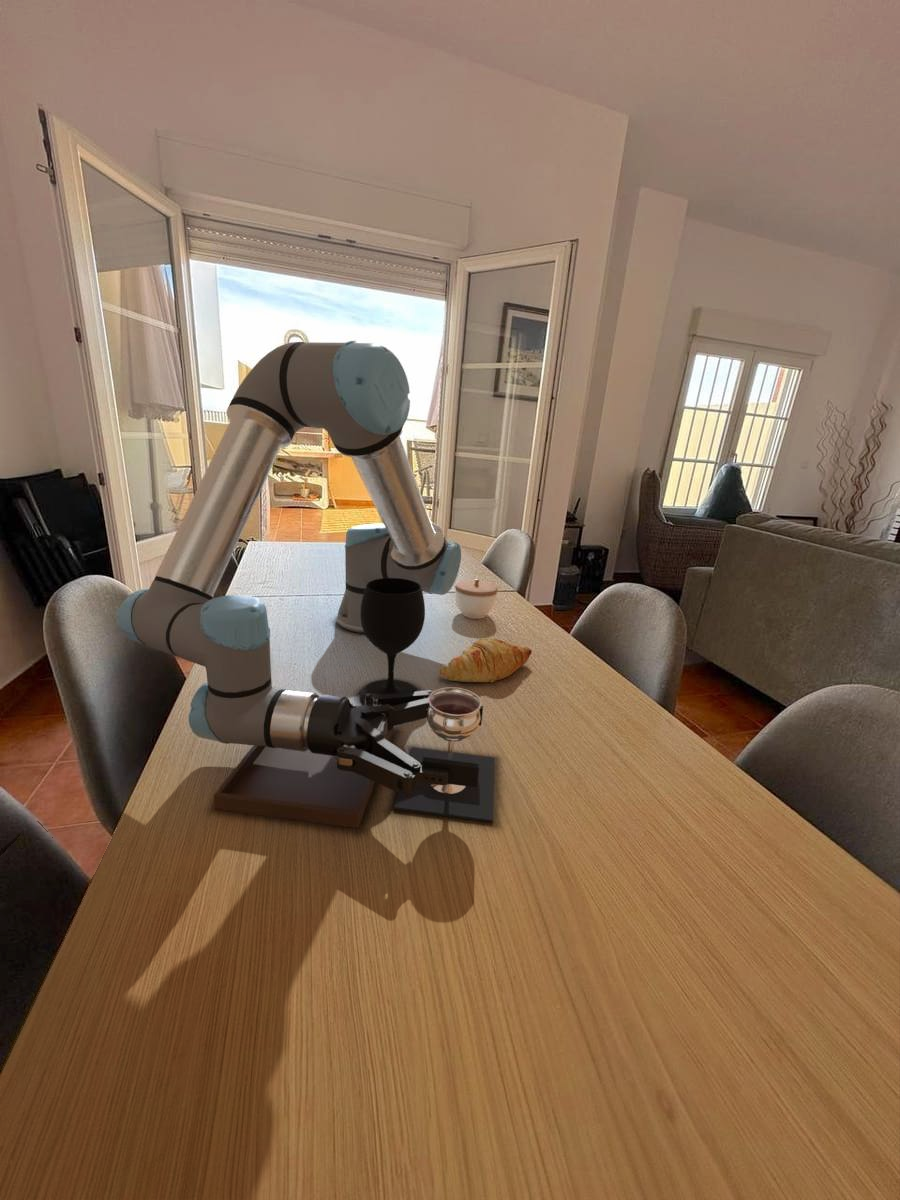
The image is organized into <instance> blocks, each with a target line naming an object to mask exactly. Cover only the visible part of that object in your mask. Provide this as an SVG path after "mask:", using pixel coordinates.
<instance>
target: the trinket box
mask: <svg viewBox="0 0 900 1200" xmlns="http://www.w3.org/2000/svg"><path fill="white" fill-rule="evenodd" d="M454 584H455V585H454V589H455V590H454V601H455V604H456V607H457V609H458V611H460V613H461V615H462V616H464V617H466V618H468V619H483V618H485V617H486V616H487V615H488V614H490V613H491V611H492V610H493V608H494V606H495V604H496V600H497V593H498V589H499V588H498V586H497V585H496V584H494V583H492V582H489V581H486V580H481V579H479V578H475V579H462V580H459V581H456V583H454Z"/></svg>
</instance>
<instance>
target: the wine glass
mask: <svg viewBox="0 0 900 1200" xmlns="http://www.w3.org/2000/svg"><path fill="white" fill-rule="evenodd" d="M360 616H361V624H362V628H363V631H364V633H363V634H364V635H365V636H366V638H367V640H368V641H369V642H370V643H371V644H372V645H373V646H374V647H375V648H376V649H378V650H379V651H380V652H383V654H385V655H386V658H387V679H379V680H374V681H371V682H370V683H368V684H366V685H365V686H363V688H362V689H361V690H360V693H359V700H360V702H361V703H362V704H363V705H364V704H365V695H366V694H368V693H372V694H392V693H403V692H414V691H420V690H419V689H418V687H416V686H415V685H414V684H412V683H410V682H408V681H405V680H400V679H394V678H395V663H396V658H397V655H398V654H400V653H401V652H404V651H405V650H406V649H408V648H410V646H412V645H413V644H414V643H415V641H416V640H417V639H418V638H419V636H420V635H421V632H422V630H423V627H424V624H425V619H426V605H425V598H424V592H423V591H422V589H421V586H420V585H419V584H418V583H416V582H414V581H411V580H407V579H400V578H382V579H376V580H372V581H370V582H368V583H367V585H366V588H365V591H364V594H363V598H362V603H361V611H360Z"/></svg>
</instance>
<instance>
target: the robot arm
mask: <svg viewBox="0 0 900 1200" xmlns="http://www.w3.org/2000/svg"><path fill="white" fill-rule="evenodd" d="M410 393H411V391H410V384H409V380H408V376H407V374H406V371H405V368H404V367H403V364H402V363H401V361H400V360H399V358H398V357H397V356H396V355H395V354H394V352H393V351H391V350H390V349H389V348H388V347H386V346H383V345H381V344H379V343H373V342H366V341H361V340H349V341H346V342H312V341H311V342H309V341H308V342H305V341H293V342H286V343H284V344H282V345H279V346H277V347H275V348H274V349H272V350H271V351H269V352H268V353H266V354H265V355H264V356H263V357H262V358H260V359H259V361H258V362H257V363H256V364H255V365H254V366H253V367H252V369H251V370H250V371H249V372H248V374H247V375H245V377H244V378H243V380H242V381H241V383H240V385H238V387H237V389H236V391H235V393H234V395H233V397H232V399H231V401H230V403H229V405H228V407H227V409H226V416H227V418H228V420H229V422H228V425H227V426H226V429H225V431H224V433H223V435H222V437H221V439H220V441H219V443H218V445H217V447H216V449H215V452H214V453H213V455H212V458H211V460H210V462H209V464H208V466H207V468H206V470H205V472H204V474H203V477H202V479H201V481H200V483H199V484H198V487H197V489H196V491H195V493H194V495H193V497H192V500H191V501H190V504H189V506H188V507H187V509H186V512H185V514H184V516H183V517H182V521H181V522H180V524H179V526H178V528H177V530H176V532H175V535H174V536H173V538H172V541H171V542H170V545H169V547H168V549H167V551H166V553H165V556H164V557H163V559H162V561H161V563H160V565H159V567H158V570H157V572H156V574H155V576H154V579H153V580H152V582H151V584H150V586H149V588H144V589H142V588H141V589H138V590H136V591H133V592H132V593H131V594H130V595H129V596H128V597H127V598H125V599H124V600H123V601H122V603H121V604H120V606H119V608H118V612H117V623H118V626H119V629H120V631H121V632H122V634H123V635H124V636H125V637H127V638H128V639H130V640H131V641H134V642H135V643H138V644H140V645H142V646H144V647H145V648H146V649H150V650H153V651H154V650H155V651H159V652H162V653H165V654H169V655H171V656H175V657H176V658H177V657H178V658H180V659H183V660H185V661H188V662H190V663H194V664H196V665H198V666H201V667H204V668H205V672H206V673H205V674H206V681H207V682H205V683H203V684H202V685H201V686H199V687H198V689H197V690H196V692H195V693H194V695H193V696H192V699H191V701H190V705H189V706H190V711H189V713H188V724H189V728H190V730H191V732H192V733H193V734H194V735H195V736H196V737H199V738H200V739H206V740H210V741H215V742H220V743H222V744H226V745H228V744H234V745H247V746H254V745H257V746H268V747H270V748H281V749H288V750H295V751H302V752H306V751H307V750H310V751H311V752H312V753H315V754H323V755H330V756H337V768H338V769H339V770H344V771H350V772H355V773H357V774H359V775H361V776H363V777H366V778H368V779H370V780H372V781H374V782H375V784H379V785H380V786H383V787H385V788H387V789H389V790H391V791H393V792H395V793H397V794H398V793H400V794H402V795H405V796H408V795H410V794H411V791H416V790H418V789H419V787H420V783H428V784H436V785H437V784H438V785H447V784H453V785H461V786H468V787H476V788H477V782H478V773H479V764H476V763H468V762H460V761H452V760H444V759H436V758H428V757H423V760H422V765H421V763H420V762H418V761H417V760H415V759H414V758H413V757H411V756H410V755H409V753H406V752H405V751H404V750H402V749H401V748H400V747H398V746H397V745H395V744H394V743H392V742H391V741H390V742H389V741H388V740H386V739H385V738H384V736H385V735H386V733H387V731H390V730H392V729H393V730H394V728H395V727H397V726H401V725H404V724H409V723H411V722H416V721H420V720H424V719H427V710H428V707H429V705H430V704H429V702H428V698H429V696H430V694H431V693H432V692H434V690H431V689H428V690H427V689H425V690H419V691H414V692H403V693H392V694H372V693H368V694H366V695H365V704H363V705H353V704H352V703H351V701H350V699H349V698H348V697H347V696H342V695H335V694H334V695H333V694H325V693H323V694H321V695H319V694H318V693H317V692H313V691H312V692H310V691H303V690H302V691H300V690H291V689H282V688H277V687H273V683H272V663H271V661H272V659H271V628H270V626H269V618H268V611H267V607H266V605H265V603H264V602H263V600H261V599H260V598H258V597H255V596H252V595H238V594H228V595H222V596H217V597H214V595H215V592H216V591H217V589H218V587H219V585H220V582H221V580H222V578H223V576H224V574H225V571H226V569H227V567H228V564H229V562H230V560H231V558H232V556H233V554H234V552H235V549H236V546H237V545H238V542H239V541H240V538H241V536H242V534H243V531H244V529H245V527H246V525H247V523H248V521H249V518H250V516H251V514H252V511H253V509H254V507H255V505H256V503H257V500H258V499H259V497H260V494H261V492H262V489H263V487H264V485H265V483H266V480H267V478H268V477H269V474H270V472H271V470H272V468H273V465H274V462H275V461H276V458H277V456H278V454H279V453H280V450H281V449H284V448H288V447H289V446H290V445H291V443H292V441H293V438H294V436H295V434H296V433H297V432H299V431H300V430H302V429H303V428H312V429H313V428H314V429H324V430H325V431H326V433H327V435H328V436H329V439H330V440H331V442H332V444H333V446H334V448H335V449H336V451H337V452H338V453H340V454H341V455H343V456H344V457H345V456H346V457H349V458H350V459H351V460H352V462H353V464H354V467H355V468H356V470H357V472H358V474H359V476H360V478H361V481H362V483H363V484H364V487H365V489H366V491H367V493H368V495H369V497H370V500H371V502H372V503H373V505H374V507H375V509H376V511H377V513H378V515H379V517H380V519H381V521H382V522H378V523H377V522H376V523H375V522H374V523H365V524H358V525H354V526H351V527H350V528H348V529H347V531H346V533H345V543H344V544H345V545H344V550H345V551H344V552H345V556H344V557H345V559H344V560H345V563H344V565H345V591H344V593H343V596H342V600H341V603H340V605H339V608H338V611H337V624H338V626H340V627H341V628H343V629H344V630H346V631H349V632H353V633H359V634H365V633H364V631H363V628H362V624H361V616H360V611H361V603H362V598H363V594H364V591H365V588H366V585H367V583H368V582H370V581H372V580H376V579H382V578H400V579H407V580H411V581H414V582H416V583H418V584H419V585H420V586H421V589H422V593H427V594H429V595H437V596H438V595H439V596H444V595H446V594H447V593H449V592H450V591H451V590H452V588H453V586H454V584H455V582H456V581H457V578H458V575H459V571H460V567H461V561H462V548H461V546H460V543H458V542H455V541H454V540H446V537H445V533H444V531H443V530H442V528H441V527H440V526H439V525H437V523H434V522H432V520H431V517H430V515H429V512H428V510H427V506H426V503H425V501H424V498H423V496H422V493H421V491H420V487H419V484H418V482H417V479H416V477H415V474H414V471H413V469H412V466H411V463H410V461H409V458H408V455H407V453H406V450H405V446H404V444H403V442H402V439H401V435H402V433H403V431H404V428H405V423H406V422H407V420H408V417H409V412H410V409H411V400H410V399H409V394H410ZM479 710H480V717H481V719H480V723H479V725H478V726H482V721H483V712H484V706H483V705H481V707H480V709H479Z"/></svg>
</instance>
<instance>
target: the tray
mask: <svg viewBox="0 0 900 1200" xmlns="http://www.w3.org/2000/svg"><path fill="white" fill-rule="evenodd" d="M393 734H394V728H393V729H392V730H390V731H387V733H386V735H385V736H384V738H385V739H386V740H388V741H389V742H391V739H392V737H393ZM375 784H376V782H374V781H372V780H370V779H368V778H366V777H363V776H361V775H359V774H357V773H355V772H350V771H344V770H339V769H338V768H337V756H330V755H323V754H315V753H312V752H311V751H310V750H307V751H306V752H302V751H295V750H288V749H281V748H270V747H268V746H257V745H252V746H251V748H250V749H249V750H248V752H247V753H246V754H245V755H244V757H243V758H242V759H241V761H240V762H239V763H238V764H237V765H236V767H234V769H233V770H232V772H231V773H230V774H229V775H228V777H226V779H225V780H224V782H223V783H222V784H221V785H220V787H218V789H217V790H216V791H215V793H214V794H213V802H214V809H215V810H220V811H228V812H235V813H243V814H249V815H257V816H264V817H271V818H278V819H284V820H285V819H286V820H293V821H300V822H306V823H307V822H308V823H315V824H323V825H329V826H336V827H344V828H352V829H359V828H360V824H361V822H362V819H363V816H364V814H365V811H366V808H367V805H368V802H369V800H370V797H371V795H372V792H373V789H374V786H375Z"/></svg>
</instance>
